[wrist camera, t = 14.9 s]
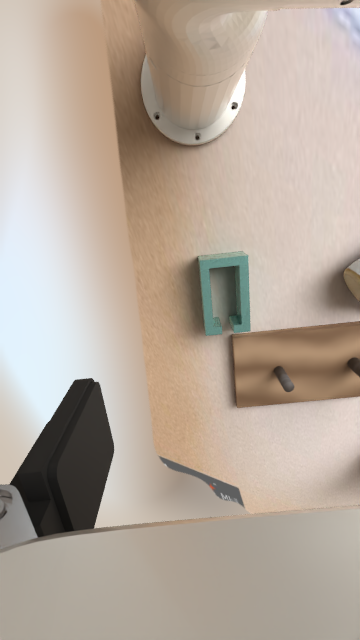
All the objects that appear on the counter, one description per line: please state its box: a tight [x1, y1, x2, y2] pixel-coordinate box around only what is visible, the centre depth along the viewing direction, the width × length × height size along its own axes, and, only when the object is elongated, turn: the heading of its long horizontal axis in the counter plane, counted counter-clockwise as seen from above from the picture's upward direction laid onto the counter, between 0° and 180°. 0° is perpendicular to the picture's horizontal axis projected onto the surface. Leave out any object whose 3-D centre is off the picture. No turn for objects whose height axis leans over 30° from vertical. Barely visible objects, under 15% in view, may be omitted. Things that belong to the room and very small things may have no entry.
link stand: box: [232, 321, 360, 408], centre depth 43 cm, size 13×22×16 cm, turn 96°
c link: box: [198, 251, 250, 336], centre depth 45 cm, size 11×6×4 cm, turn 6°
